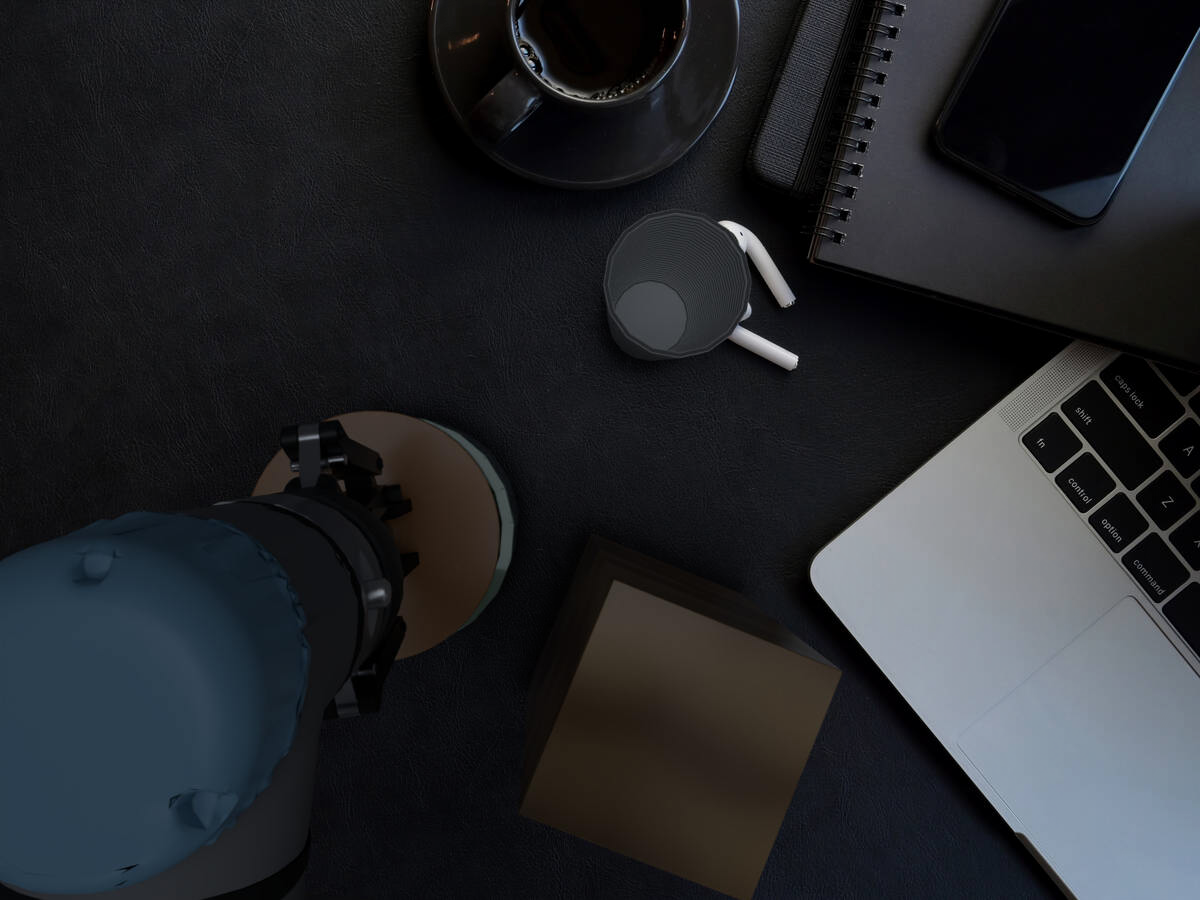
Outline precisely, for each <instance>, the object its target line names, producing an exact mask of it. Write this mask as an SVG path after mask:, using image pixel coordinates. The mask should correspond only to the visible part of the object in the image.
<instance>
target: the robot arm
mask: <svg viewBox="0 0 1200 900" xmlns="http://www.w3.org/2000/svg"><path fill="white" fill-rule="evenodd" d="M322 421H323V420H322ZM279 432H280V433H279V437H278V441H279V444H280V446H281V449H282V448H283V450H284V452H285V454H286V455H287V456H288V458H289V459H290V468H291V471H292V472H293V473H295V472H299V477H295V478H293V479H291V480H290V481H289V482H288V483H287V484H286V486H285V488H284V491H283V492H278V493H273V494H268V495H259V496H253V497H251V496H249V497H248V496H247V497H242V498H236V499H229V500H223V501H219V502H216V503H214V504H211V505H205V506H202V507H194V508H188V509H187V508H186V509H176V510H166V511H156V510H155V511H153V510H139V511H137V510H136V511H132V512H126V513H124V514H122V515H120V516H118V517H116V518H114V519H105V518H101V519H99V520H97V521H94V522H93V523H91V524H90V523H89V524H88V525H86V526H83V527H82V528H80V529H77V530H74V531H72V532H69V533H68V534H66V535H63V536H59V537H57V538H53V539H50V540H47V541H44V542H41V543H37V544H35V545H32V546H29V547H26V548H24V549H22V550H19V551H17V552H14V553H13V554H10V555H8V556H7V557H5V558H3V559H2V560H0V900H374V899H372V898H362V897H361V898H360V897H351V896H350V897H349V896H339V895H329V894H316V893H311V892H307V868H308V864H309V859H310V854H311V853H310V852H311V845H312V831H311V827H310V823H311V816H312V808H313V800H314V799H313V798H314V790H315V783H316V782H315V781H316V773H317V763H318V755H319V746H320V739H321V729H322V723H323V722H326V721H332V720H339V719H345V718H352V717H360V716H365V715H371V714H372V715H373V714H379V713H380V711H381V707H382V706H381V705H382V704H383V693H384V686H385V685H384V684H385V682H386V681H387V678H388V676H389V674H390V671H391V669H392V666H393V665H394V662H395V661H396V660H395V658H396V656H397V653H398V651H399V649H400V647H401V644H402V642H403V640H404V638H405V632H406V630H407V626H406V622H404V619H403V616H402V615H401V616H397V615H398V612H399V609H400V606H401V602H402V600H403V595H404V591H403V586H404V578H405V577H406V576H407V575H408V574H409V573H410V572H412V571H413V570H414V569H415V568H416V567H417V566H418V565H419V564H420V562H419V554H418V552H414V553H407V554H399V552H398V549H397V546H396V544H395V542H394V540H393V538H392V536H391V535H390V533H389V531H388V530H387V529H386V527H385V526H384V525H383V523H382V522H381V521H386V520H393V519H397V518H399V517H401V516H403V515H405V514H407V513H409V512H411V511H412V503H411V499H405V500H403V494H402V489H401V485H400V484H394V485H387V484H384V485H377V482H376V479H375V476H378V475H382V468H384V464H383V460H382V458H381V457H380V454H379V453H378V452H376V451H374V450H372V449H370V448H368V447H366V446H364V445H362V444H360V443H358V442H356V441H354V440H352V439H350V438H349V437H348V435H347V433H346V432H345V430H344V428H343V426H342V425H341V423H340V421H339V420H330V421H323V422H321V421H316V422H308V423H301V424H293V425H292V424H291V425H286V426H282V427H280V431H279ZM341 480H344V484H345V489H346V491H342V489H341V487H340V485H339V483H338V482H337V481H341ZM394 660H395V661H394Z"/></svg>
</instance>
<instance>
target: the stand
mask: <svg viewBox="0 0 1200 900" xmlns="http://www.w3.org/2000/svg"><path fill="white" fill-rule="evenodd" d="M843 673H844V672H843V670H841V669H840V668H839V667H837V666H836V665H835V664H834V663H832V662H831V661H830V660H828V659H827V658H825V656H823V655H822V654H820V653H819V652H818V651H817V650H816V649H814V648H813V647H811V646H810V645H809V644H808V643H806V642H805V641H803V640H802V639H801V638H800V637H798V636H797V635H796V634H795V633H794V632H792V631H791V630H790V629H788V628H787V627H786V626H784V625H783V624H782V623H780V622H779V621H778V620H776V619H775V618H773V617H772V616H771V615H770V614H769V613H767V612H766V611H765V610H763V609H761V608H760V607H759V606H758V605H757V604H755V603H754V602H753V601H752V600H750V599H749V598H748V597H746V596H745V595H743V594H742V593H741V592H739V591H736V590H734V589H731V588H729V587H726V586H724V585H721V584H719V583H716V582H714V581H712V580H709V579H707V578H704V577H702V576H699V575H697V574H694V573H692V572H689V571H687V570H684V569H682V568H680V567H677V566H674V565H672V564H670V563H667V562H665V561H663V560H660V559H657V558H655V557H653V556H651V555H647V554H645V553H642V552H640V551H638V550H636V549H633V548H631V547H628V546H625V545H623V544H620V543H618V542H615V541H613V540H611V539H608V538H605V537H603V536H601V535H599V534H596V533H593V532H591V533H590V534H589V537H588V539H587V541H586V544H585V547H584V549H583V551H582V554H581V556H580V559H579V561H578V563H577V566H576V568H575V571H574V573H573V576H572V578H571V581H570V583H569V585H568V588H567V590H566V593H565V595H564V598H563V601H562V603H561V605H560V607H559V610H558V612H557V615H556V617H555V620H554V623H553V625H552V627H551V629H550V632H549V634H548V637H547V639H546V642H545V643H544V647H543V650H542V652H541V654H540V657H539V659H538V661H537V664H536V666H535V668H534V671H533V674H532V676H531V678H530V681H529V683H528V690H527V691H528V692H527V703H526V716H525V725H524V738H523V739H524V740H523V750H522V761H521V775H520V786H519V796H518V809H517V811H518V812H517V814H518V815H520V816H522V817H525V818H527V819H530V820H533V821H535V822H537V823H541V824H543V825H546V826H548V827H551V828H553V829H555V830H558V831H561V832H563V833H566V834H568V835H571V836H574V837H576V838H579V839H581V840H584V841H587V842H590V843H592V844H594V845H597V846H600V847H602V848H606V849H607V850H610V851H613V852H615V853H618V854H620V855H623V856H625V857H628V858H631V859H633V860H635V861H638V862H641V863H643V864H646V865H649V866H651V867H654V868H657V869H659V870H662V871H664V872H667V873H669V874H672V875H674V876H677V877H680V878H682V879H684V880H688V881H690V882H693V883H695V884H697V885H700V886H703V887H705V888H708V889H711V890H714V891H716V892H718V893H721V894H723V895H726V896H729V897H731V898H733V899H735V900H736V899H737V900H752V899H753V896H754V894H755V892H756V890H757V889H756V888H757V886H758V884H759V881H760V880H761V876H762V874H763V871H764V869H765V867H766V864H767V862H768V860H769V856H770V854H771V852H772V849H773V847H774V844H775V841H776V839H777V837H778V834H779V831H780V829H781V827H782V825H783V822H784V819H785V817H786V814H787V812H788V810H789V807H790V804H791V802H792V799H793V797H794V794H795V791H796V790H797V787H798V784H799V783H800V780H801V777H802V774H803V772H804V770H805V767H806V764H807V762H808V761H809V757H810V754H811V752H812V751H813V747H814V745H815V742H816V740H817V737H818V735H819V732H820V730H821V728H822V725H823V722H824V720H825V717H826V715H827V713H828V710H829V707H830V705H831V702H832V700H833V698H834V695H835V693H836V690H837V687H838V685H839V683H840V680H841V678H842V676H843Z"/></svg>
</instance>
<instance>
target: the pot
mask: <svg viewBox="0 0 1200 900" xmlns="http://www.w3.org/2000/svg"><path fill="white" fill-rule="evenodd" d="M417 418H418V419H420V420H422V421H425V422H427V423H429V424H432V425H433V426H435V427H437V428H438V429H440V430H442V431H444V432H445V433H447V434H448V435H449V436H450V437H452V438H453V439H454V440H456V441H457V442H458V443H459V444H460V445H461V446H462V447H463V448H464V449H465V450H466V451H467V452H468V453H469V454H470V455H471V456H472V458H473V459H474V460H475V462H476V463H477V464H478V466H479V467H480V469H481V470H482V472H483V474H484V476H485V477H486V479H487V481H488V483H489V486H490V488H491V491H492V493H493V495H494V499H495V503H496V506H497V510H498V516H499V524H500V547H499V554H498V561H497V565H496V568H495V572H494V575H493V578H492V580H491V583H490V585H489V588H488V590H487V592H486V594H485V596H484V597H483V599H482V601H481V602H480V604H479V606H478V607H477V609H476V610H475V611H474V612H473V614H472V615H471V616H470V618H469V619H468V620H467V621H466V622H465V623H464V624H463V625H462V626H461V627H460V628H459V629H458V630H457V631H456V632H455V633H453V634H452V635H451V636H453V635H455V634H456V633H458V632H459V631H460V630H462V629H464V628H465V627H467V626H469V625H471V624H472V623H474V621H476V620H477V618H478V617H479V616H480V615H481V614H482V613H483V611H484V610H485V609H486V608H487V606H488V605H489V604H490V603H491V602H492V601H493V600H494V599H495V597H496V596H497V595H498V594H499V591H500V589H501V586H502V584H503V582H504V579H505V577H506V575H507V572H508V570H509V567H510V565H511V563H512V560H513V556H514V554H515V551H516V547H517V543H518V542H517V540H518V531H519V530H518V529H519V517H520V514H519V509H518V505H517V504H518V503H517V500H516V495H515V492H514V488H513V484H512V482H511V480H510V478H509V477H508V474H507V473H506V471H505V469H504V468H503V467H502V464H501V463H500V462H499V460H498V459H497V457H496V456H495V454H493V452H491V451H490V450H489V449H488V448H487V447H486V446H484V445H483V444H482V443H481V442H480V441H479V440H477V439H476V438H474V436H473V435H471V434H470V433H468V432H465V431H463V430H460V429H458V428H455V427H453V426H450V425H448V424H446V423H443V422H440V421H436V420H431V419H427V418H423V417H422V418H421V417H417Z"/></svg>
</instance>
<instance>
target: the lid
mask: <svg viewBox="0 0 1200 900" xmlns="http://www.w3.org/2000/svg"><path fill="white" fill-rule="evenodd" d="M418 418H419V417H414V416H412V415H411V416H410V415H407V414H403V413H400V412H395V411H394V412H393V411H386V410H360V411H351V412H346V413H342V414H338V415H334V416H331V417H329V418H326V419H324V420H321V421H320V422H323V421H330V420H339V421H340V423H341V425H342V426H343V428H344V430H345V432H346V433H347V435H348V437H349V438H350V439H352V440H354V441H356V442H358V443H360V444H362V445H364V446H366V447H368V448H370V449H372V450H374V451H376V452H378V453H379V454H380V457H381V458H382V460H383V464H384V468H382V475H378V476H375V479H376V482H377V485H384V484H387V485H394V484H400V485H401V489H402V494H403V500H405V499H411V503H412V511H411V512H409V513H407V514H405V515H403V516H401V517H399V518H397V519H393V520H386V521H381V522H382V523H383V525H384V526H385V527H386V529H387V530H388V531H389V533H390V535H391V536H392V538H393V540H394V542H395V544H396V546H397V549H398V552H399V554H407V553H414V552H418V554H419V562H420V564H419V565H418V566H417V567H416V568H415V569H414V570H413V571H412V572H410V573H409V574H408V575H407V576H406V577H405V578H404V586H403V591H404V595H403V600H402V602H401V606H400V609H399V612H398V615H397V616H401V615H402V616H403V619H404V622H406V626H407V630H406V632H405V638H404V640H403V642H402V644H401V647H400V649H399V651H398V653H397V656H396V658H395V660H394V662H395V661H400V660H404V659H407V658H411V657H415V656H416V655H420V654H422V653H424V652H427V651H429V650H430V649H432V648H434V647H436V646H437V645H440V644H441V643H443V642H444V641H445V640H447V639H448V638H450V637H451V636H453V635H454V634H456V633H457V632H458V631H457V630H458V629H459V628H460V627H461V626H462V625H463V624H464V623H465V622H466V621H467V620H468V619H469V618H470V616H471V615H472V614H473V612H474V611H475V610H476V609H477V607H478V606H479V604H480V602H481V601H482V599H483V597H484V596H485V594H486V592H487V590H488V588H489V585H490V583H491V580H492V578H493V575H494V572H495V568H496V565H497V561H498V554H499V547H500V524H499V516H498V510H497V506H496V503H495V499H494V495H493V493H492V491H491V488H490V486H489V483H488V481H487V479H486V477H485V476H484V474H483V472H482V470H481V469H480V467H479V466H478V464H477V463H476V462H475V460H474V459H473V458H472V456H471V455H470V454H469V453H468V452H467V451H466V450H465V449H464V448H463V447H462V446H461V445H460V444H459V443H458V442H457V441H456V440H454V439H453V438H452V437H450V436H449V435H448V434H447V433H445V432H444V431H442V430H440V429H438V428H437V427H435V426H433V425H432V424H429V423H427V422H425V421H422V420H420V419H418ZM295 477H299V472H295V473H293V472H292V471H291V468H290V459H289V458H288V456H287V455H286V454H285V452H284V450H283V448H282V447H281V448H280V449H279V450H278V451H277V452H276V454H275V455H274V456H273V457H272V459H271V460H270V461H269V462H268V463H267V464H266V466H265V468H264V470H263V471H262V473H261V475H260V476H259V478H258V480H257V482H256V484H255V487H254V489H253V491H252V493H251V496H250V497H253V496H259V495H268V494H273V493H278V492H283V491H284V488H285V486H286V484H287V483H288V482H289V481H290V480H291V479H293V478H295ZM337 482H338V483H339V485H340V487H341V489H342V491H346V489H345V484H344V480H341V481H337ZM456 631H457V632H456ZM455 632H456V633H455ZM453 633H454V634H453ZM452 634H453V635H452Z"/></svg>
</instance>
